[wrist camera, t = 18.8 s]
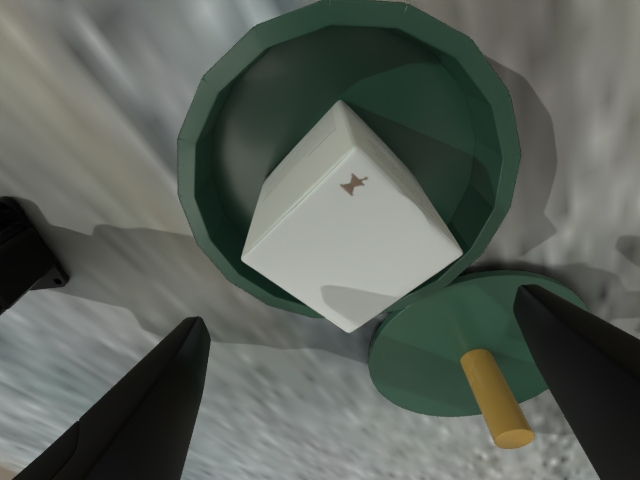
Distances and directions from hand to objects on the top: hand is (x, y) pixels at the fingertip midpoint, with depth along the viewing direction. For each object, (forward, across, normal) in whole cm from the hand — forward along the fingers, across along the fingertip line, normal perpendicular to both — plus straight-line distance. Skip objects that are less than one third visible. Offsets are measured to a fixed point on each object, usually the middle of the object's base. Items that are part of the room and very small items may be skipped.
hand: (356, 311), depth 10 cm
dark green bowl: (+11, 0, 0) cm, 11 cm away
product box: (+10, 0, 0) cm, 11 cm away
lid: (+10, -9, +16) cm, 21 cm away
